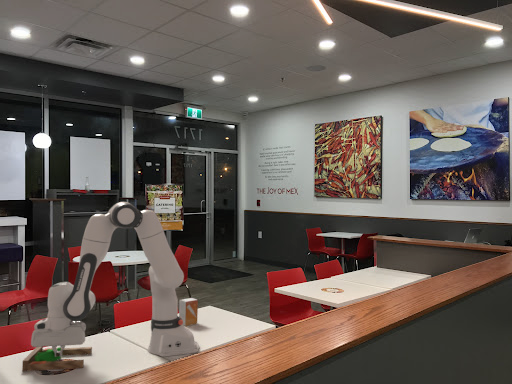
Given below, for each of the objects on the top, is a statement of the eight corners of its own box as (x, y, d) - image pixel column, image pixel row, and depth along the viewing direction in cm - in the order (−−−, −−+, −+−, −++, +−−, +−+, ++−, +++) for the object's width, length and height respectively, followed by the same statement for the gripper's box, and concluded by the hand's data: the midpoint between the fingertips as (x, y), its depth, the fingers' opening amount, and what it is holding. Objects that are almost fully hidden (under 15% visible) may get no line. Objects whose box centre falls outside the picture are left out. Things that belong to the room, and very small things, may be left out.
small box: (185, 326, 221) (185, 301, 222) (178, 323, 226) (179, 299, 226) (197, 323, 227) (198, 299, 227) (190, 321, 231) (191, 297, 232)
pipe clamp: (54, 357, 175) (54, 346, 175) (61, 358, 174) (61, 347, 174) (30, 366, 165) (30, 354, 165) (37, 368, 163) (37, 356, 164)
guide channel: (91, 352, 181) (92, 343, 181) (82, 367, 164) (82, 357, 164) (37, 355, 177) (37, 345, 177) (22, 371, 160) (22, 360, 161)
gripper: (87, 319, 176) (86, 352, 176) (35, 321, 172) (34, 354, 172) (84, 323, 170) (83, 357, 169) (30, 325, 166) (29, 360, 166)
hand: (58, 356), depth 171 cm, fingers closed
